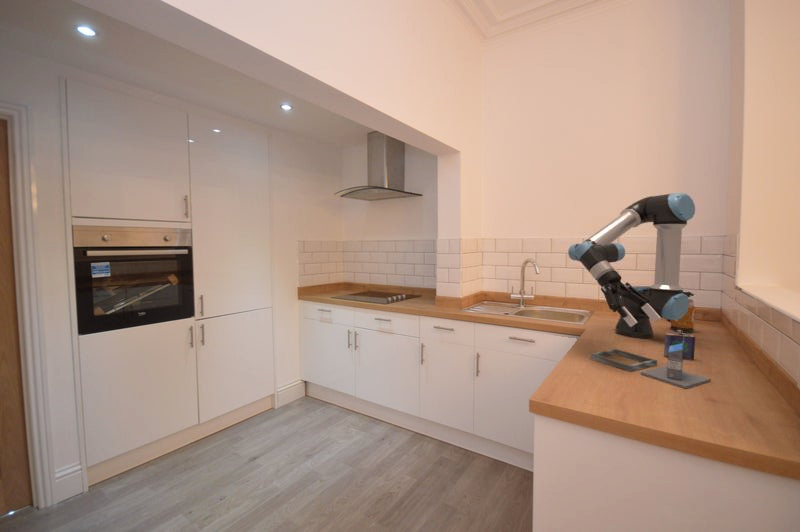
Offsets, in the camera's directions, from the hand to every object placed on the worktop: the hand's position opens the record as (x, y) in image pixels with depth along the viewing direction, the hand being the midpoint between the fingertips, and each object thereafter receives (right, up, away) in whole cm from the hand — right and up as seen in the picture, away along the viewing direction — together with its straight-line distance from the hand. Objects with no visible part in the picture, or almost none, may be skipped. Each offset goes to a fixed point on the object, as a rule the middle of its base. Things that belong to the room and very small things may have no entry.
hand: (646, 322), depth 122 cm
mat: (+4, -17, -8) cm, 19 cm away
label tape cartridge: (+4, -16, -7) cm, 18 cm away
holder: (-3, -16, +8) cm, 18 cm away
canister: (+54, -13, +54) cm, 78 cm away
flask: (+21, -16, +13) cm, 29 cm away
